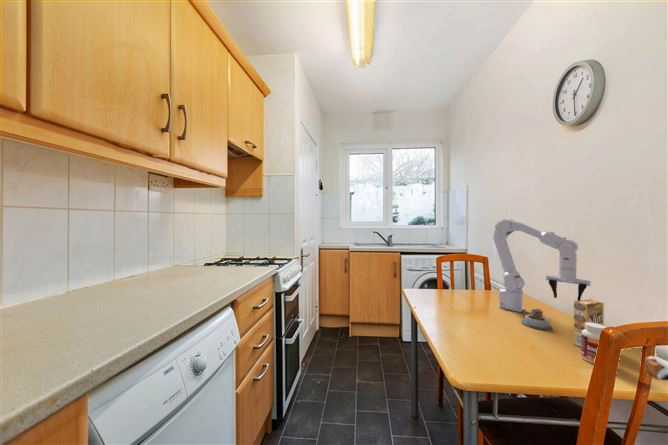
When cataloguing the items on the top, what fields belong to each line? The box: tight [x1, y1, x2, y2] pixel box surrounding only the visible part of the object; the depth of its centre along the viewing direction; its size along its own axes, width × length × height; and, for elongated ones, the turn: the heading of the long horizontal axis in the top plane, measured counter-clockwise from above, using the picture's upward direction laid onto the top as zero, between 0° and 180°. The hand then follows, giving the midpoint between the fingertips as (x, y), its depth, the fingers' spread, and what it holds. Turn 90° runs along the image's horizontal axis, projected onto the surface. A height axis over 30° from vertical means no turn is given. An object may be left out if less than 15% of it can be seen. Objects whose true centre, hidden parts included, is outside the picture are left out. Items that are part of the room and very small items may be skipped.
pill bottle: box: [580, 322, 607, 364], centre depth 83 cm, size 6×6×11 cm
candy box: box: [573, 298, 605, 348], centre depth 94 cm, size 9×4×15 cm, turn 107°
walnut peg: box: [530, 307, 544, 321], centre depth 112 cm, size 4×4×6 cm
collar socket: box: [521, 314, 553, 331], centre depth 111 cm, size 10×10×3 cm
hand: (566, 299), depth 117 cm, fingers open, 7 cm apart
